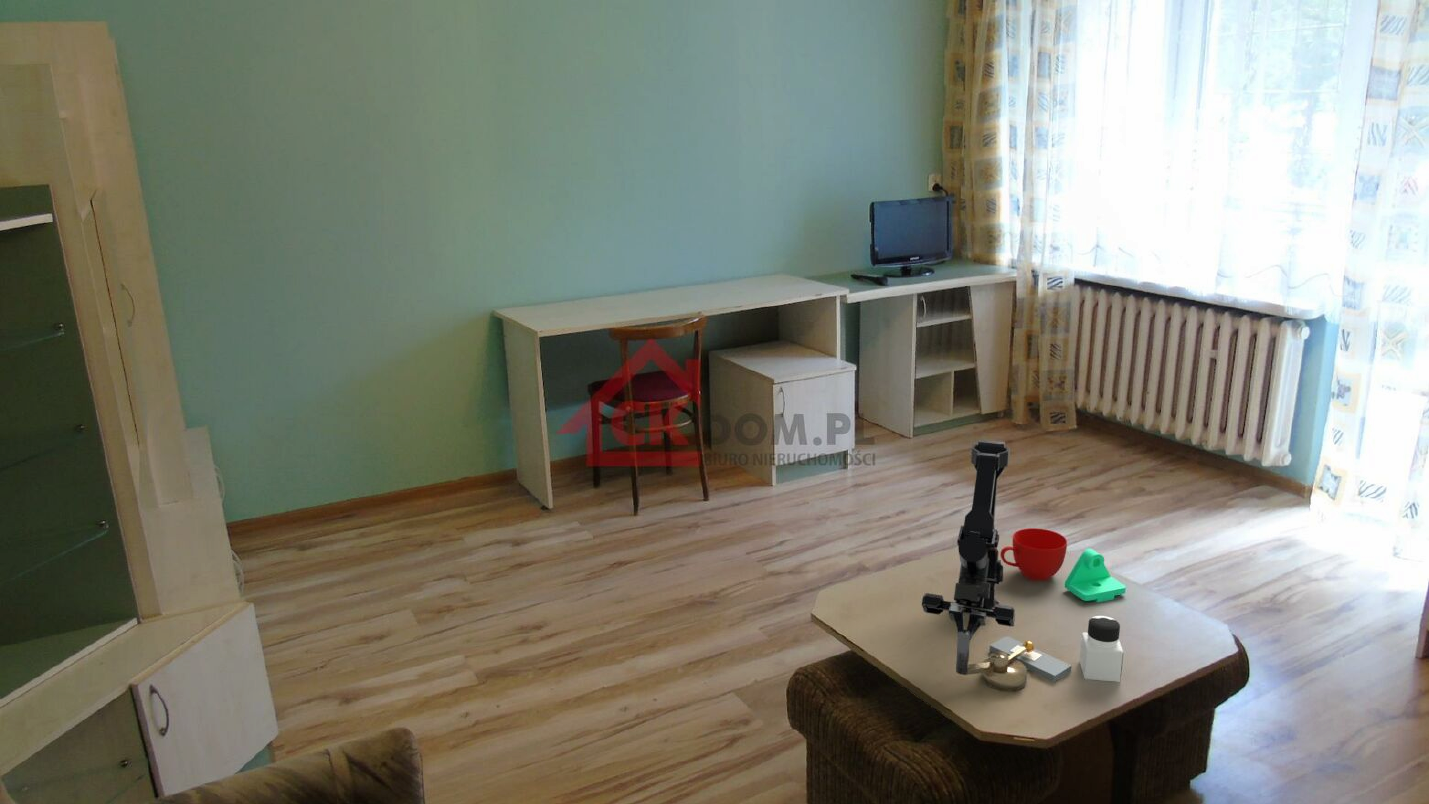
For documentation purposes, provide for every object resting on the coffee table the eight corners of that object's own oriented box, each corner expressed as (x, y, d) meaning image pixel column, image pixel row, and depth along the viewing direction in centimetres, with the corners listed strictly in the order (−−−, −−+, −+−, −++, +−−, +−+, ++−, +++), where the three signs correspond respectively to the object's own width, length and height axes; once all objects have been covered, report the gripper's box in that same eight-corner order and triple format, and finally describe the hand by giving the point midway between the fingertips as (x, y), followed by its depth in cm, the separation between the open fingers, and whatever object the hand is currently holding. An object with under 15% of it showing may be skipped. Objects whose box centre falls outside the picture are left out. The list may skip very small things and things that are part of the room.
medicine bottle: (1120, 682, 204) (1126, 630, 200) (1084, 679, 205) (1089, 627, 201) (1114, 664, 210) (1119, 613, 207) (1079, 661, 212) (1083, 610, 208)
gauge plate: (989, 651, 216) (990, 644, 216) (1006, 641, 220) (1006, 635, 219) (1054, 682, 204) (1055, 675, 204) (1071, 671, 208) (1071, 664, 207)
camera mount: (1084, 605, 235) (1087, 566, 232) (1064, 591, 242) (1067, 552, 239) (1126, 597, 238) (1130, 558, 236) (1105, 583, 245) (1109, 545, 242)
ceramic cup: (986, 569, 254) (988, 533, 251) (1045, 561, 258) (1048, 525, 255) (1012, 592, 242) (1015, 554, 239) (1074, 583, 246) (1078, 546, 243)
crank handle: (1030, 655, 214) (1034, 606, 210) (1056, 685, 203) (1060, 634, 199) (942, 665, 211) (945, 616, 207) (964, 695, 200) (967, 644, 196)
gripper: (924, 558, 209) (912, 630, 202) (1017, 571, 202) (1007, 647, 195) (930, 576, 218) (918, 645, 211) (1018, 589, 211) (1009, 661, 205)
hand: (962, 649), depth 205 cm, fingers closed
